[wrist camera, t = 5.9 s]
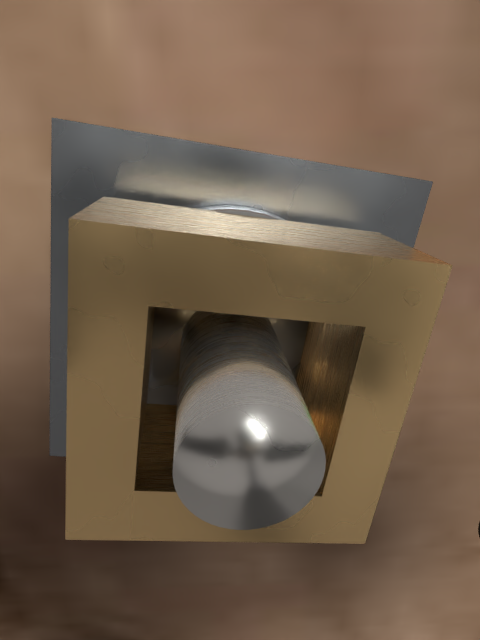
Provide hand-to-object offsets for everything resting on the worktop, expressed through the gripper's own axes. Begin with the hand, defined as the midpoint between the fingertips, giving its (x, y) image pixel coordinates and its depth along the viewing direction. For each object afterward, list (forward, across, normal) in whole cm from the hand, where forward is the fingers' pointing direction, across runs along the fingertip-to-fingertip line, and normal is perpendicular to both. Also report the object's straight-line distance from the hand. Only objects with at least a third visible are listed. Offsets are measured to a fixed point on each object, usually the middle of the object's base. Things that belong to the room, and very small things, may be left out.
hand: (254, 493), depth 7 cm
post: (+8, 0, 0) cm, 8 cm away
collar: (+6, 0, 0) cm, 6 cm away
